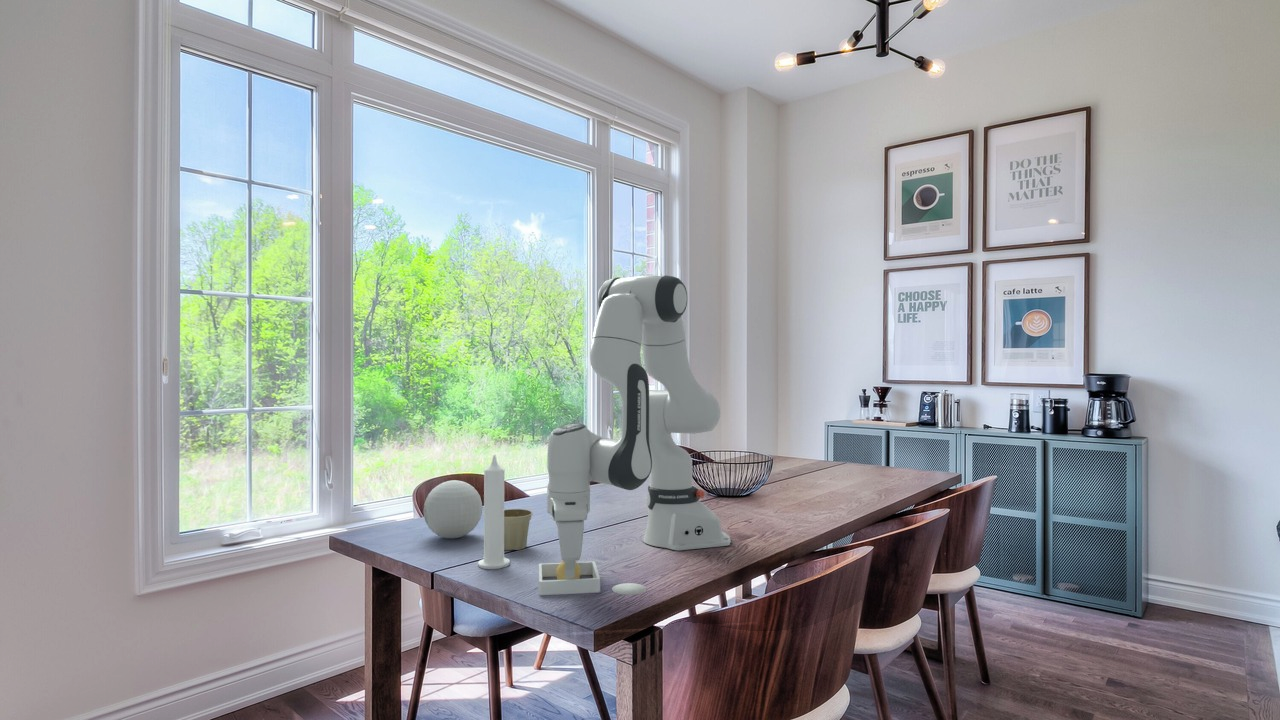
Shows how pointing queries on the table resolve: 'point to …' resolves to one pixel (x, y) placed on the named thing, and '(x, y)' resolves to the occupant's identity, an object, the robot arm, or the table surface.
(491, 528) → the candle
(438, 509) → the decorative object
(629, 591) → the coaster
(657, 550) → the table surface
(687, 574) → the table surface
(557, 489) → the robot arm
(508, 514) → the flower pot
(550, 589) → the shallow white box
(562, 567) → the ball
